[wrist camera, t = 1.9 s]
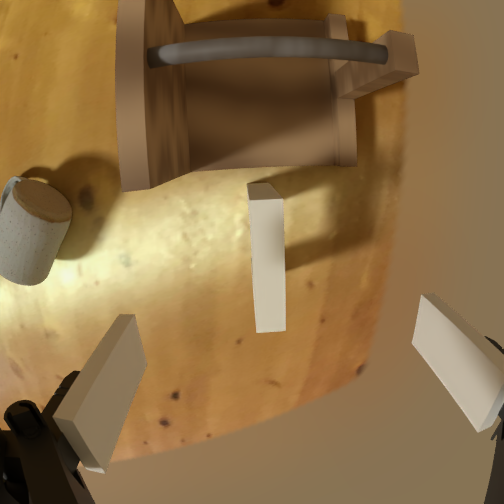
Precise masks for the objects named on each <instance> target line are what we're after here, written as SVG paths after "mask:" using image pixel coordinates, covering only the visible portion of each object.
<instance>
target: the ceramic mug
mask: <svg viewBox="0 0 504 504" xmlns="http://www.w3.org/2000/svg"><path fill="white" fill-rule="evenodd" d="M71 218H72V209H71V206H70V204H69V202H68V200H67V199H66V198H65V197H64V196H63V195H62V194H61V193H60V192H59V191H57V190H56V189H54V188H53V187H51V186H50V185H47V184H45V183H43V182H40V181H36V180H29V179H27V178H25V177H20V176H14V177H12V178H11V179H10V180H9V181H8V182H7V184H6V186H5V188H4V190H3V193H2V196H1V201H0V275H2V276H3V277H4V278H6V279H8V280H10V281H11V282H14V283H16V284H20V285H28V286H31V285H37V284H39V283H41V282H43V281H44V280H45V279H46V278H47V276H48V274H49V272H50V269H51V267H52V265H53V262H54V260H55V257H56V255H57V253H58V250H59V248H60V245H61V243H62V241H63V239H64V237H65V235H66V232H67V230H68V228H69V225H70V221H71Z"/></svg>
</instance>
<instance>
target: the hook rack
mask: <svg viewBox="0 0 504 504" xmlns="http://www.w3.org/2000/svg"><path fill="white" fill-rule="evenodd" d="M418 74H419V69H418V61H417V54H416V47H415V42H414V35H411V34H407V33H402V32H397V31H392V30H389V31H388V32H386V33H385V34H384V35H382V36H381V37H380V38H378V39H377V40H375V41H374V42H373V43H367V42H360V41H351V40H348V32H347V25H346V18H345V15H338V14H328V15H327V17H326V18H325V20H324V21H321V20H306V19H237V20H222V21H210V22H201V23H192V24H185V25H184V23H183V20H182V18H181V16H180V14H179V12H178V10H177V8H176V6H175V4H174V2H173V0H119V1H118V14H117V30H116V60H115V92H116V123H117V140H118V154H119V166H120V177H121V187H122V192H129V191H137V190H146V189H151V188H154V187H156V186H158V185H161V184H163V183H165V182H168V181H170V180H173V179H175V178H177V177H180V176H182V175H185V174H187V173H190V172H197V171H209V170H222V169H237V168H254V167H277V166H315V165H335V166H357V143H356V120H355V103H354V99H356V98H359V97H361V96H363V95H366V94H368V93H371V92H373V91H376V90H378V89H381V88H383V87H386V86H388V85H391V84H394V83H396V82H399V81H402V80H404V79H407V78H410V77H412V76H415V75H418Z"/></svg>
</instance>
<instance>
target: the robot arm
mask: <svg viewBox="0 0 504 504" xmlns="http://www.w3.org/2000/svg"><path fill="white" fill-rule="evenodd" d="M412 344H413V345H414V347H415V348H416V349H417V350H418V352H419V353H420V354H421V356H422V357H423V358H424V359H425V361H426V362H427V363H428V365H429V366H430V367H431V369H432V370H433V371H434V373H435V374H436V375H437V377H438V378H439V379H440V380H441V382H442V383H443V385H444V386H445V387H446V389H447V390H448V391H449V392H450V394H451V395H452V397H453V398H454V400H455V401H456V402H457V404H458V405H459V406H460V408H461V409H462V411H463V412H464V413H465V415H466V416H467V418H468V419H469V421H470V422H471V423H472V425H473V426H474V428H475V429H476V431H477V432H480V431H482V430H484V429H487V428H489V427H491V426H492V424H493V423H494V421H495V419H496V417H497V415H499V417H500V418H501V419H502V420H501V422H500V424H499V425H498V427H497V429H496V430H495V432H494V434H493V435H492V437H491V440H493V439H494V438H495V436H496V435H497V440H496V441H497V442H496V448H495V454H494V460H493V466H492V472H491V476H490V481H489V485H488V489H487V494H486V497H485V502H484V504H504V349H502V347H501V346H500V345H499V344H498V343H497V342H495V341H494V340H492V339H490V338H488V337H486V336H483V335H482V334H481V333H480V332H479V331H478V330H476V329H475V328H474V327H473V326H472V325H471V324H470V323H469V322H468V321H466V320H465V319H464V318H463V317H462V316H461V315H460V314H458V313H457V312H456V311H455V310H454V309H453V308H452V307H450V306H449V305H448V304H447V303H446V302H444V301H443V300H442V299H441V298H440V297H439V296H437V295H436V294H435V293H428V294H422V295H421V300H420V305H419V311H418V316H417V321H416V326H415V331H414V336H413V341H412ZM146 366H147V361H146V358H145V354H144V350H143V346H142V343H141V339H140V335H139V331H138V327H137V322H136V318H135V314H119V316H118V317H117V318H116V320H115V321H114V323H113V324H112V326H111V327H110V329H109V330H108V331H107V333H106V334H105V336H104V337H103V339H102V340H101V342H100V343H99V345H98V346H97V348H96V349H95V351H94V352H93V354H92V355H91V357H90V358H89V360H88V361H87V363H86V364H85V366H84V367H83V369H82V370H81V371H73V372H72V373H70V374H69V375H68V376H66V377H65V378H64V380H63V381H62V383H61V384H60V386H59V388H58V389H57V390H56V392H55V393H54V395H53V396H52V398H51V399H50V401H49V402H48V404H47V405H46V407H45V408H44V410H43V412H42V413H40V411H39V409H38V408H37V406H36V404H35V403H34V402H32V401H29V400H21V401H17V402H15V403H13V404H12V405H10V406H9V407H8V408H7V410H6V411H5V413H4V420H5V422H6V423H7V425H8V426H9V428H10V429H11V430H1V428H0V504H95V502H94V500H93V498H92V497H91V495H90V492H89V490H88V489H87V486H86V484H85V482H84V480H83V478H82V476H81V474H80V472H79V471H78V469H77V466H78V463H79V461H81V462H82V464H83V465H84V467H85V468H86V469H87V470H91V471H96V472H101V473H106V471H107V468H108V465H109V462H110V459H111V457H112V454H113V451H114V448H115V445H116V443H117V440H118V437H119V435H120V432H121V429H122V427H123V424H124V421H125V419H126V416H127V414H128V411H129V408H130V406H131V403H132V401H133V398H134V396H135V393H136V391H137V388H138V386H139V383H140V381H141V378H142V376H143V373H144V371H145V368H146Z"/></svg>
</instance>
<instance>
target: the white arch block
mask: <svg viewBox="0 0 504 504" xmlns="http://www.w3.org/2000/svg"><path fill="white" fill-rule="evenodd" d="M247 196H248V210H249V219H250V234H251V251H252V258H251V267H252V282H253V295H254V307H255V319H256V332H257V333H262V332H276V331H286V308H285V246H284V210H283V198H282V197H281V196H280V195H279V193H278V192H277V191H276V190H275V189H274V188H273V187H272V185H271V184H270V183H253V184H247Z"/></svg>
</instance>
